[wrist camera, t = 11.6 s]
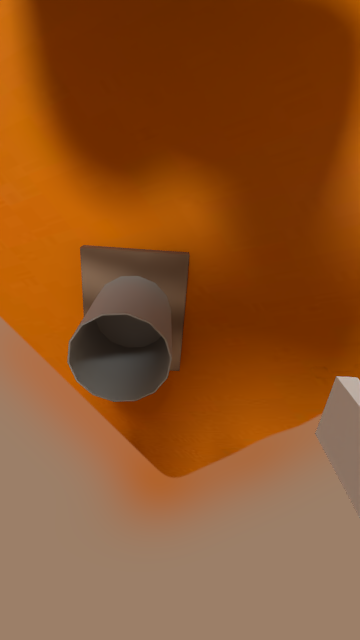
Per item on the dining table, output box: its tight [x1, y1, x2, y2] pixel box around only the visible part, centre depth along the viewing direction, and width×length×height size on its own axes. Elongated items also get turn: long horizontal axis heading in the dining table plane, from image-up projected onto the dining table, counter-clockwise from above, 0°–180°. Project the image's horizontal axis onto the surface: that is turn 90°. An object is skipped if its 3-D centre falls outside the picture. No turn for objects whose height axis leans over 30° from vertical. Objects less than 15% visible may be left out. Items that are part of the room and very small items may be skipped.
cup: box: [68, 276, 172, 402], centre depth 30 cm, size 8×8×10 cm
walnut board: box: [80, 245, 189, 371], centre depth 35 cm, size 14×11×1 cm
